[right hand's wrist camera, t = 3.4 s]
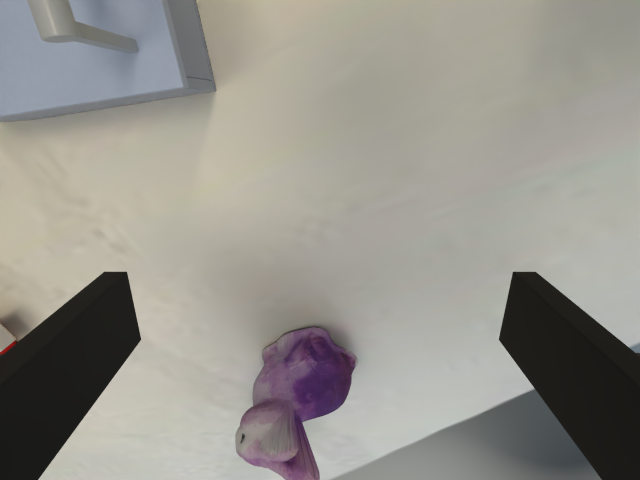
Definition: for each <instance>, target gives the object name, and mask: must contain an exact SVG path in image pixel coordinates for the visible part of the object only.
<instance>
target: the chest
mask: <svg viewBox="0 0 640 480" xmlns="http://www.w3.org/2000/svg"><path fill="white" fill-rule="evenodd" d="M167 2H168V6H169V10H170V14H171V18H172V22H173V26H174V30H175V34H176V38H177V42H178V46H179V50H180V54H181V57H182V61H183V65H184V69H185V73H186V77H187V81H188V85H189V88H184V89H178V90H172V91H165V92H159V93H153V94H146V95H140V96H134V97H127V98H121V99H115V100H108V101H102V102H96V103H89V104H83V105H77V106H70V107H64V108H58V109H51V110H45V111H39V112H32V113H26V114H20V115H13V116H7V117H1V118H0V122H11V121H24V120H34V119H41V118H47V117H53V116H60V115H66V114H72V113H79V112H85V111H92V110H98V109H104V108H111V107H117V106H123V105H130V104H136V103H143V102H149V101H155V100H162V99H168V98H174V97H181V96H187V95H194V94H200V93H206V92H213V91H216V87H215V82H214V78H213V74H212V69H211V65H210V60H209V56H208V52H207V47H206V43H205V38H204V34H203V29H202V25H201V21H200V16H199V12H198V7H197V3H196V0H167Z"/></svg>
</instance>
